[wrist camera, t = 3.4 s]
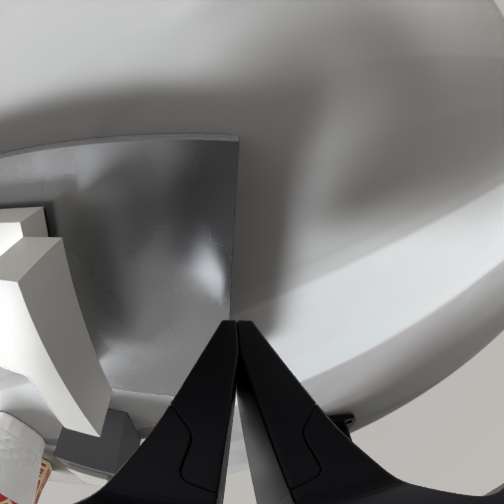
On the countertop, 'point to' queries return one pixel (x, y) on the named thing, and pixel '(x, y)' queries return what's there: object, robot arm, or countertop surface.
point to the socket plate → (138, 243)
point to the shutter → (47, 323)
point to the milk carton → (4, 503)
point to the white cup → (19, 459)
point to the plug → (98, 449)
